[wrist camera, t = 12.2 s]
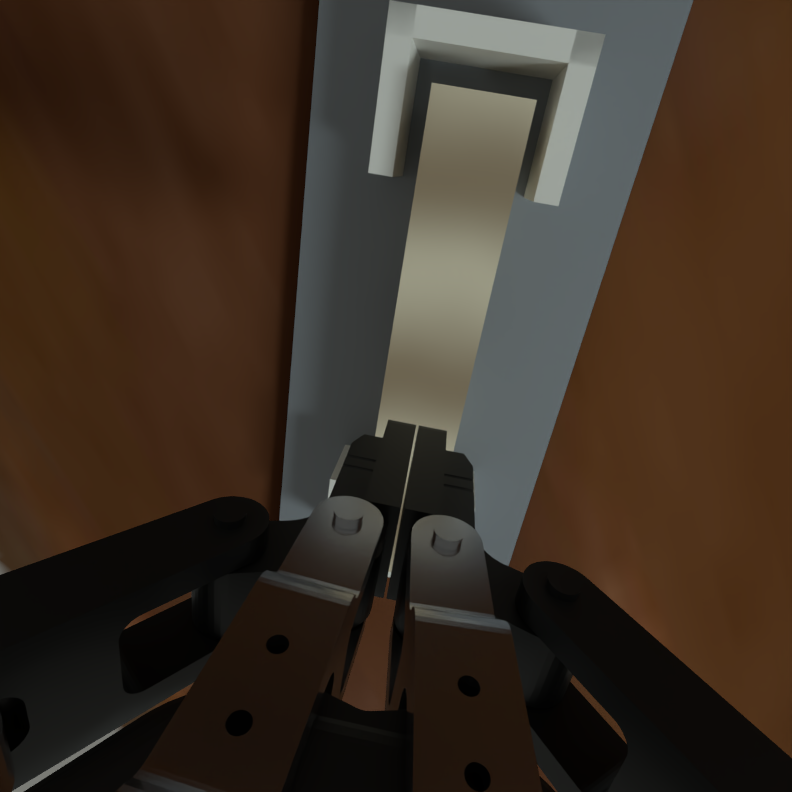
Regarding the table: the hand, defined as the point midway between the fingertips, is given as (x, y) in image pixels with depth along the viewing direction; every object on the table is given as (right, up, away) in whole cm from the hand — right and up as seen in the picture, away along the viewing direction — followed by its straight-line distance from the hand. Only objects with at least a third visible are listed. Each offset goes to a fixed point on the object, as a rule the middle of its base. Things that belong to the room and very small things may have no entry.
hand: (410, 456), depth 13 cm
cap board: (+1, +4, +10) cm, 11 cm away
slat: (+1, +4, +9) cm, 10 cm away
